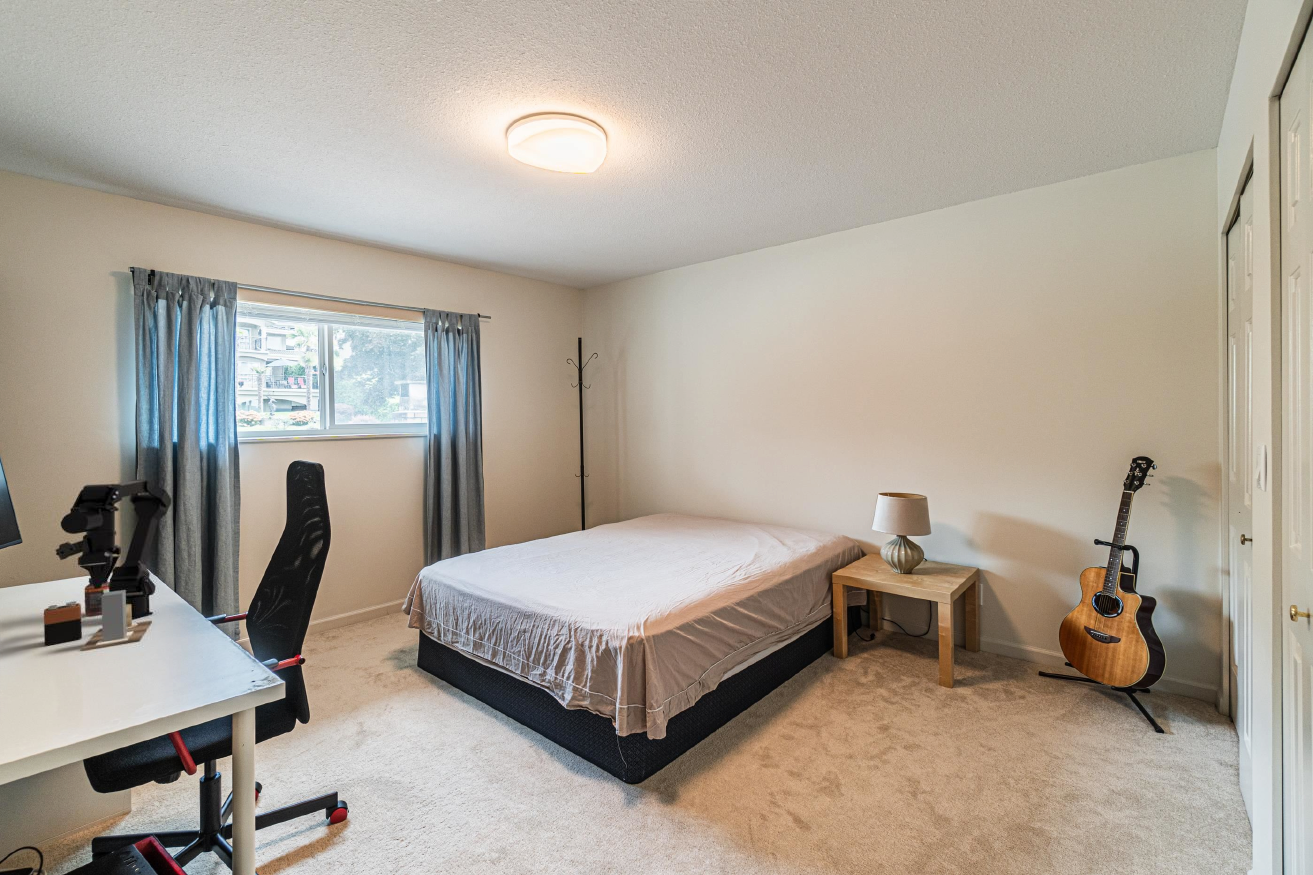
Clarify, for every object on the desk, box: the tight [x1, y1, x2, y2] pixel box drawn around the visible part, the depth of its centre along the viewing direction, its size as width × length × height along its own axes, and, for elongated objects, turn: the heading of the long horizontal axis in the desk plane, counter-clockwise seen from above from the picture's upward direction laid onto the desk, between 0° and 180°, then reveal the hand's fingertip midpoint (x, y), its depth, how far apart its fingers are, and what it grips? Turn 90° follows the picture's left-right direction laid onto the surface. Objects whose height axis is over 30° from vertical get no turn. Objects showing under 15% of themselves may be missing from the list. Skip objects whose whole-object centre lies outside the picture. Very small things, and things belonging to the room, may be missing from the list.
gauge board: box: [80, 604, 153, 652], centre depth 153 cm, size 18×11×7 cm, turn 34°
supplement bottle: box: [84, 577, 110, 617], centre depth 174 cm, size 6×6×11 cm
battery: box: [43, 600, 83, 647], centre depth 150 cm, size 4×7×10 cm, turn 137°
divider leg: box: [101, 590, 127, 642], centre depth 149 cm, size 4×4×12 cm
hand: (100, 585), depth 156 cm, fingers open, 9 cm apart
